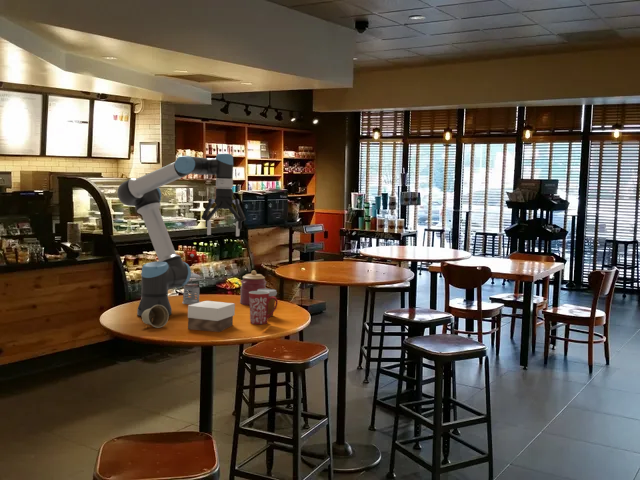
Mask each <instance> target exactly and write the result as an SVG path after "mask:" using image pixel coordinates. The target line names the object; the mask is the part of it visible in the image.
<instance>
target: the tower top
mask: <svg viewBox="0 0 640 480" xmlns="http://www.w3.org/2000/svg"><path fill="white" fill-rule="evenodd" d="M235 310H236V303H233V302H223V301H213V300H204V301H199V303H195V304H187V319H188V318H196V319H204V320H213V321H219V320H222V319H225V318H228V317H231V316H233V317H234V316H235V314H236V313H235Z"/></svg>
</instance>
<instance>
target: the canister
mask: <svg viewBox="0 0 640 480" xmlns="http://www.w3.org/2000/svg"><path fill="white" fill-rule="evenodd" d="M265 279H266V277H265V276H264V275H263V274H261V273H257V271H256V270H254V269H253V270H251V273H246V274H245V275H243V276H242V280H241V281H240V283H241V286H240V299H239V303H240V304H241V305H244V306H250V299H249V292H251V291H257V290H258V289H267V288H266V284H267V281H266V280H265Z"/></svg>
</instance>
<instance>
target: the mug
mask: <svg viewBox="0 0 640 480" xmlns="http://www.w3.org/2000/svg"><path fill="white" fill-rule="evenodd" d="M272 298H273V299H275V305H274V309H273V311H272V312H271V313H270V314H269V315H268V303H269V301H270V300H271V299H272ZM249 299H250V305H249V321H250V322H249V323H250V324H251V325H252V324H253V325H266V324H267V323H268V319H269V318H271V317H270V316H271V315H272V313H273V314H274V312H275V311H276V310H277V307H278V299H277V297H273V296H272V297H269V292H267V291H251V292H249Z"/></svg>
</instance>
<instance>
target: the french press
mask: <svg viewBox="0 0 640 480" xmlns="http://www.w3.org/2000/svg"><path fill="white" fill-rule="evenodd" d="M189 256H190V257H195V254H193V253H191V254H190V255H189ZM200 277H201V276H200V275H199V274H197V273H194V272H191V277H190V279H199V278H200ZM199 285H200V284H199V283H197V282H196V283H193V282H190V283H189V282H188V283H187V284H186V285H184V286H183V291H182V290H181V287H177V289H178V292H180V293H181V294H182V295H183V297H182V303H181V304H183V305H192V304H195V303H199V302H200V286H199Z"/></svg>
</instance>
